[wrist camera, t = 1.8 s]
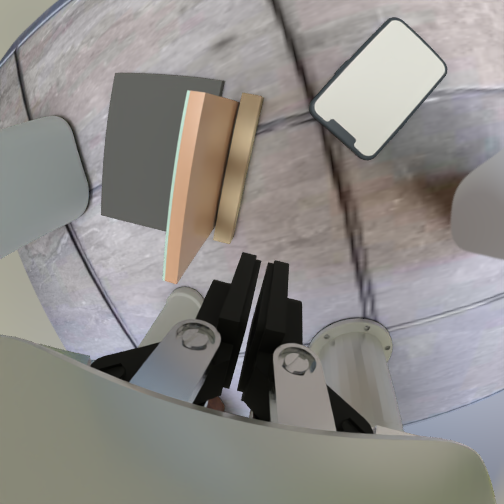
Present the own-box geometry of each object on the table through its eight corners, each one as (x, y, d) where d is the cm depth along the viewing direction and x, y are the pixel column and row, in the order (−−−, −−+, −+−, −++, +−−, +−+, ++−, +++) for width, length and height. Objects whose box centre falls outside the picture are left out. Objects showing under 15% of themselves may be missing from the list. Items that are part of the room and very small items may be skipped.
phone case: (389, 16, 22) (302, 109, 28) (394, 11, 20) (303, 108, 27) (446, 71, 23) (365, 164, 30) (452, 69, 22) (369, 166, 28)
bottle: (204, 320, 41) (139, 484, 18) (170, 311, 41) (88, 462, 19) (207, 290, 38) (129, 465, 16) (170, 281, 39) (71, 439, 16)
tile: (238, 102, 27) (205, 92, 16) (213, 228, 33) (176, 284, 22) (227, 100, 27) (187, 90, 16) (203, 225, 33) (162, 280, 22)
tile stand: (233, 236, 35) (229, 244, 33) (205, 229, 35) (200, 236, 33) (263, 97, 28) (261, 96, 26) (231, 91, 28) (227, 90, 26)
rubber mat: (196, 235, 35) (193, 238, 34) (105, 212, 36) (101, 215, 35) (224, 81, 27) (222, 80, 26) (119, 73, 28) (115, 72, 27)
